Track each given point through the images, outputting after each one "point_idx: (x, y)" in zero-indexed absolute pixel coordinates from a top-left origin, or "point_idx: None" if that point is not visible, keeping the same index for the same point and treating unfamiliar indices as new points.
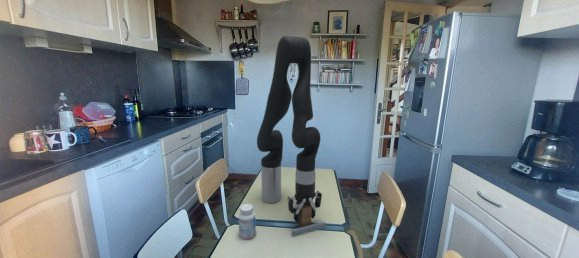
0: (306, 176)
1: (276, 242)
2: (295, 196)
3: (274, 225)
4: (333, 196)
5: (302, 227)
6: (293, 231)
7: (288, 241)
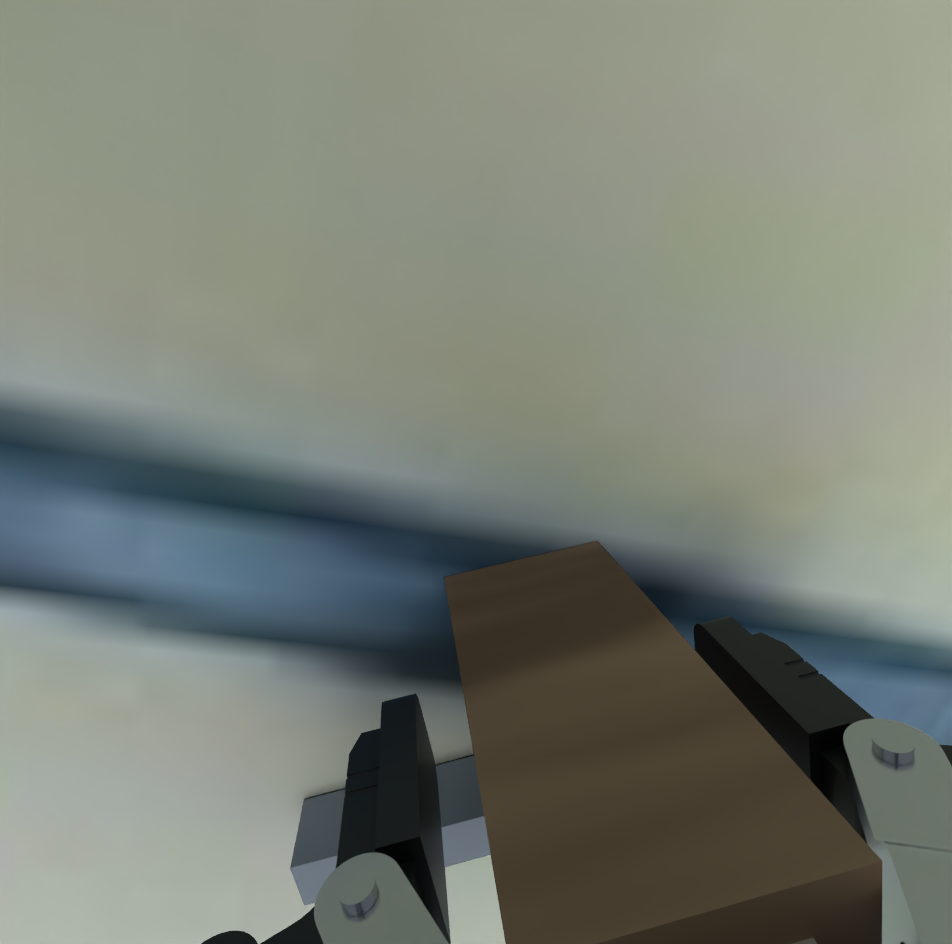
0: None
1: (80, 915)
2: None
3: (39, 573)
4: None
5: (473, 825)
6: (314, 899)
7: (245, 904)
